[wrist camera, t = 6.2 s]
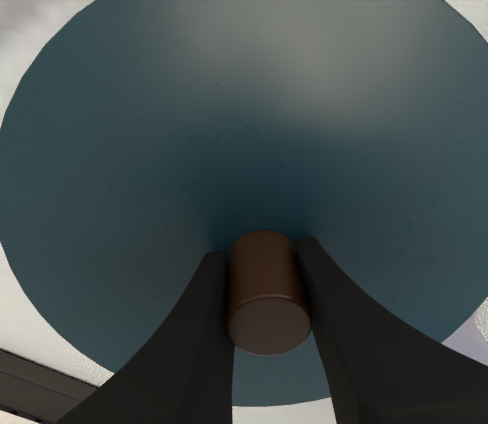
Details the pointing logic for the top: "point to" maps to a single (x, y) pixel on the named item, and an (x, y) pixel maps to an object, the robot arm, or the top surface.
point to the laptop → (36, 392)
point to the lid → (248, 172)
